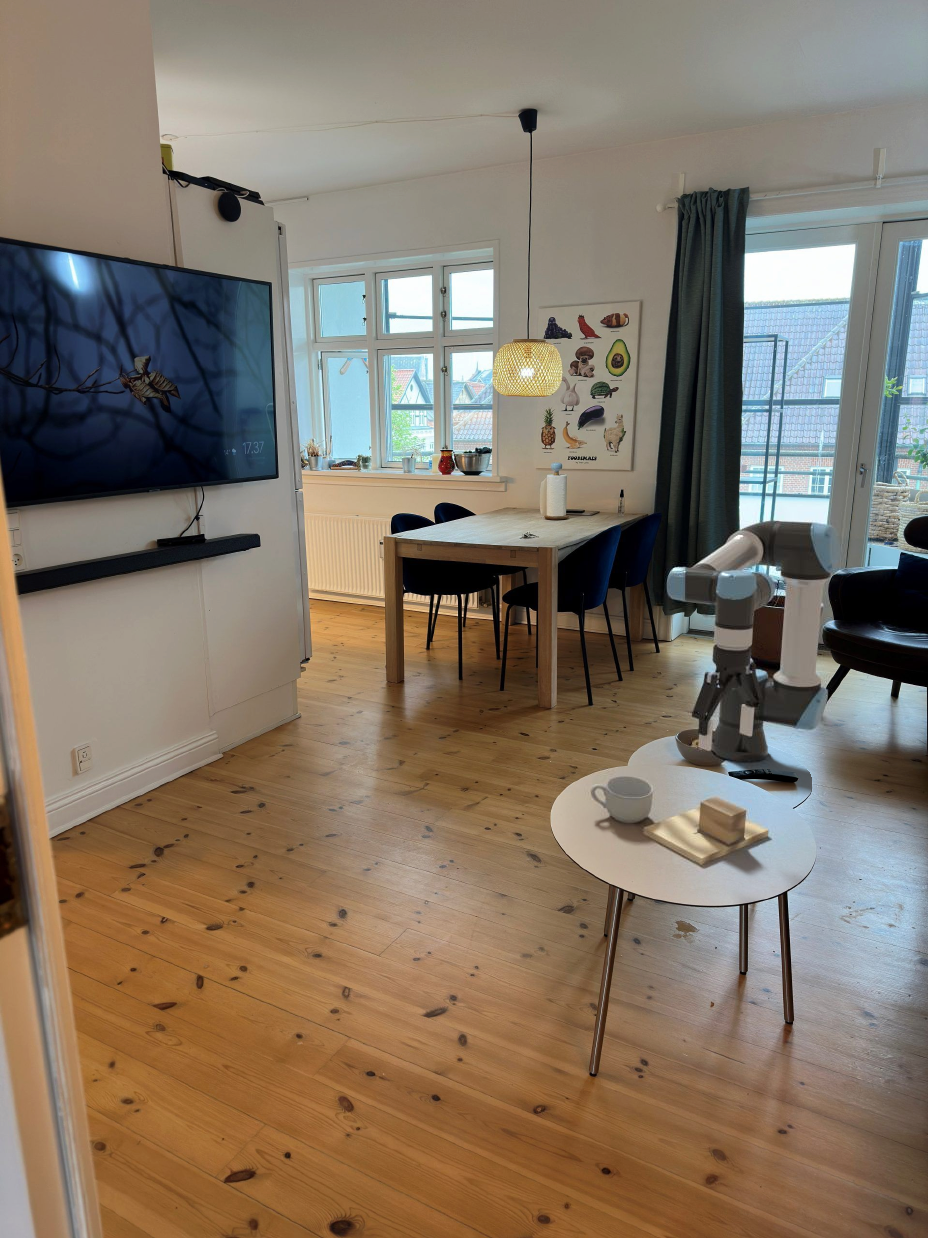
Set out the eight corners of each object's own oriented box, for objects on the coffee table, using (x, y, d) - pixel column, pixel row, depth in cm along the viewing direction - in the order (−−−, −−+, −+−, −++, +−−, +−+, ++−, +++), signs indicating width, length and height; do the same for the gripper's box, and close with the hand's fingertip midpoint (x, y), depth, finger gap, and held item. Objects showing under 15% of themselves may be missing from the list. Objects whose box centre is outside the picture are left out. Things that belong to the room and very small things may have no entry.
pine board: (709, 809, 191) (710, 803, 191) (768, 836, 178) (768, 829, 178) (643, 834, 179) (643, 827, 179) (701, 865, 166) (701, 858, 166)
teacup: (655, 811, 190) (657, 779, 188) (647, 832, 180) (649, 798, 178) (596, 801, 195) (597, 770, 193) (585, 821, 185) (586, 788, 183)
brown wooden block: (713, 825, 180) (715, 795, 178) (745, 840, 173) (747, 810, 171) (697, 831, 177) (699, 801, 175) (728, 847, 170) (731, 816, 168)
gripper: (754, 632, 178) (747, 723, 183) (677, 651, 165) (672, 749, 169) (784, 640, 172) (776, 733, 177) (707, 659, 159) (701, 760, 163)
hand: (725, 741), depth 173 cm, fingers open, 13 cm apart
